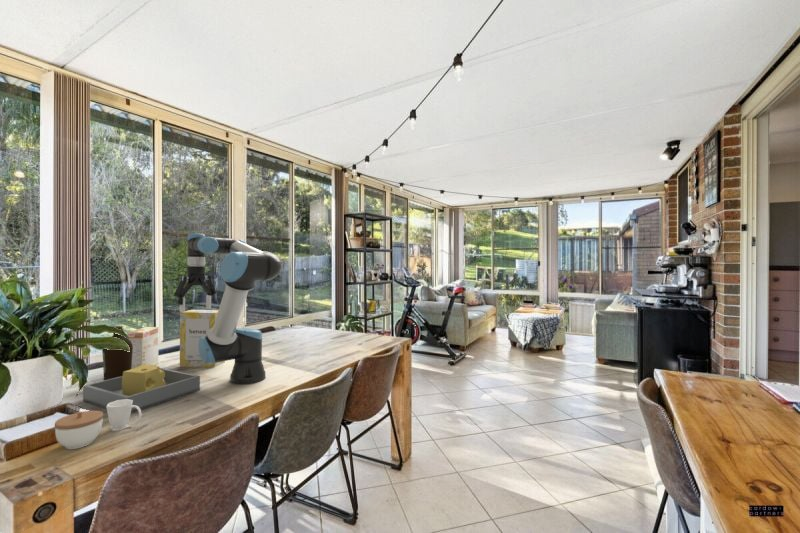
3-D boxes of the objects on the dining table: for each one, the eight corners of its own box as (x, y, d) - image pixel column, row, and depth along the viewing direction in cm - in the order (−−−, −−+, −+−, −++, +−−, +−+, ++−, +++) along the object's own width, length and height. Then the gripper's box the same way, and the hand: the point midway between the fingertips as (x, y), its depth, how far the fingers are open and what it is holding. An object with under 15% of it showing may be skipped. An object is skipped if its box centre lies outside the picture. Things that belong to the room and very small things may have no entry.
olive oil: (135, 378, 168) (135, 323, 167) (129, 385, 158) (129, 327, 158) (106, 380, 163) (106, 325, 163) (98, 388, 153) (99, 329, 153)
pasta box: (179, 366, 187) (180, 312, 186) (191, 361, 197) (192, 309, 197) (214, 367, 186) (215, 312, 186) (225, 361, 197) (225, 310, 197)
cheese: (165, 389, 151) (166, 365, 150) (144, 398, 140) (144, 372, 140) (143, 387, 152) (143, 363, 152) (120, 397, 141) (120, 371, 141)
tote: (199, 390, 153) (199, 375, 153) (126, 414, 128) (126, 397, 127) (157, 380, 165) (157, 367, 165) (83, 401, 139) (83, 385, 139)
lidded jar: (45, 448, 104) (46, 416, 104) (89, 432, 114) (89, 403, 114) (68, 456, 100) (68, 422, 100) (111, 439, 110) (111, 408, 110)
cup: (115, 423, 121) (116, 398, 121) (147, 422, 122) (147, 398, 122) (100, 432, 114) (100, 407, 114) (133, 432, 115) (134, 406, 115)
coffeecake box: (144, 363, 191) (145, 326, 191) (159, 363, 191) (159, 326, 191) (126, 372, 176) (126, 332, 176) (142, 372, 177) (142, 332, 176)
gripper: (213, 265, 187) (213, 306, 187) (165, 265, 165) (164, 312, 165) (224, 266, 184) (223, 307, 184) (176, 266, 162) (175, 313, 162)
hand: (195, 310), depth 175 cm, fingers open, 13 cm apart
